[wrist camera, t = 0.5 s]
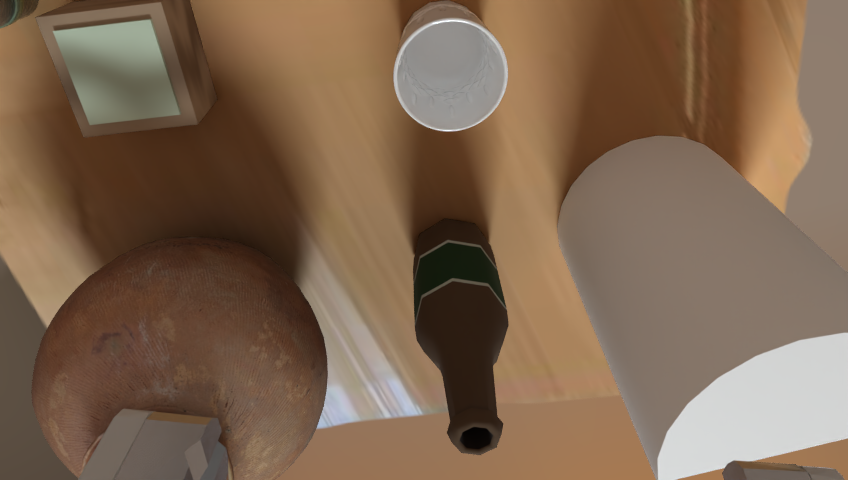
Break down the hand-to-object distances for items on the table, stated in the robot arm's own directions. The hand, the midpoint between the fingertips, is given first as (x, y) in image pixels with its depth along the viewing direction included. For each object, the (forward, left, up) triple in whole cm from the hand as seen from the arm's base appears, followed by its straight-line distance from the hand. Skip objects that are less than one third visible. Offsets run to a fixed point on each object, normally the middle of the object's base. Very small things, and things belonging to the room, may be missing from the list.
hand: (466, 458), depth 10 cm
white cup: (+4, +2, -47) cm, 47 cm away
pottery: (+26, -22, -47) cm, 58 cm away
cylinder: (+23, +20, -47) cm, 56 cm away
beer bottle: (+24, +1, -47) cm, 53 cm away
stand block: (+2, -22, -46) cm, 51 cm away
